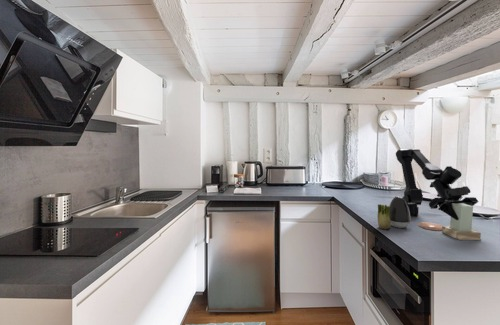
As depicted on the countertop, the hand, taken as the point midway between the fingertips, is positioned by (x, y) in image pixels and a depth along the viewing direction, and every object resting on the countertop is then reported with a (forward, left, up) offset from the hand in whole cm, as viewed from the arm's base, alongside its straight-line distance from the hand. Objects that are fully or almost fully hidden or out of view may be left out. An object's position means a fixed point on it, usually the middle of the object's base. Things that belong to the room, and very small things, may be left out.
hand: (463, 219), depth 102 cm
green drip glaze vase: (-29, -8, -8) cm, 32 cm away
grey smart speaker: (-24, 0, -8) cm, 26 cm away
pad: (-11, +8, -8) cm, 16 cm away
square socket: (-1, +1, -8) cm, 8 cm away
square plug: (-1, +1, -7) cm, 7 cm away
